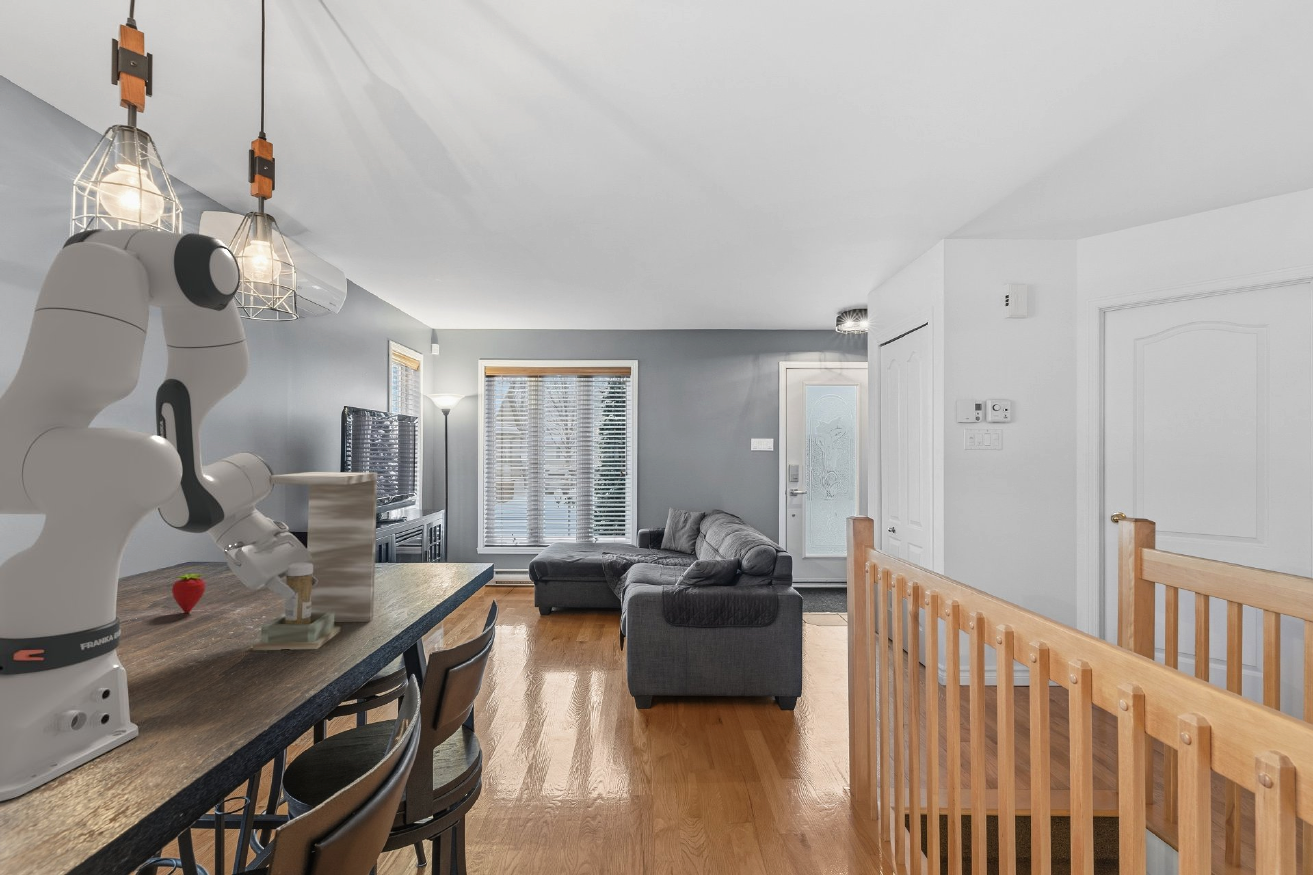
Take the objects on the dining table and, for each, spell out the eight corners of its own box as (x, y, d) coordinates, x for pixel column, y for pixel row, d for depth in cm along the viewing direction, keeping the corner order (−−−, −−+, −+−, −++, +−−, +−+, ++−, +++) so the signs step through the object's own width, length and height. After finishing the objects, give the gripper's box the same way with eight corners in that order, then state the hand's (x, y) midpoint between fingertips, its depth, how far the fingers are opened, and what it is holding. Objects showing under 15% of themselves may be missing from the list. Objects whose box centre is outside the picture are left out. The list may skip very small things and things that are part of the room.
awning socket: (337, 648, 114) (342, 476, 114) (252, 650, 112) (258, 475, 113) (373, 618, 134) (377, 472, 134) (301, 619, 132) (306, 471, 132)
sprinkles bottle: (314, 634, 118) (316, 564, 119) (287, 639, 115) (290, 567, 115) (306, 629, 121) (308, 561, 122) (280, 634, 118) (282, 563, 118)
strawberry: (202, 606, 141) (204, 562, 141) (206, 613, 135) (208, 567, 135) (169, 611, 137) (171, 565, 137) (172, 618, 131) (174, 570, 131)
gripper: (233, 535, 107) (291, 591, 108) (287, 521, 128) (336, 568, 129) (204, 561, 107) (263, 617, 108) (264, 543, 127) (313, 590, 128)
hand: (303, 590), depth 118 cm, fingers open, 8 cm apart
